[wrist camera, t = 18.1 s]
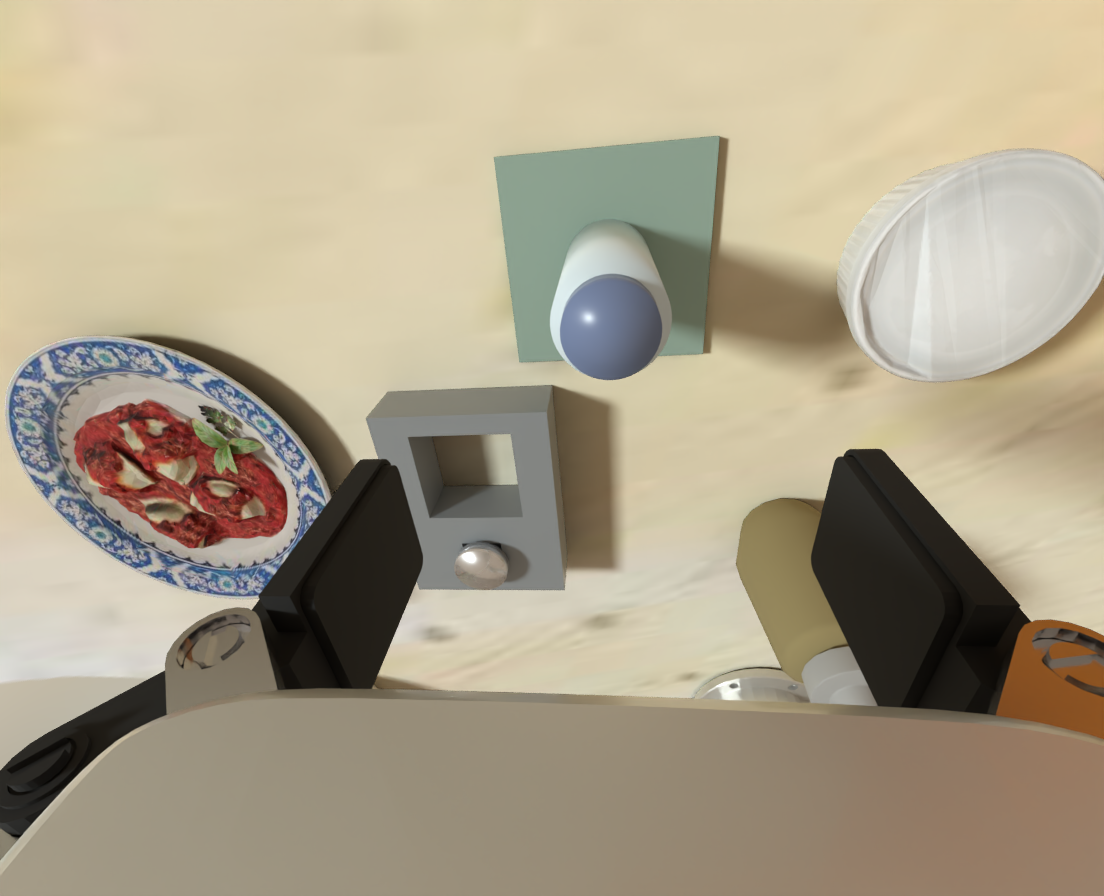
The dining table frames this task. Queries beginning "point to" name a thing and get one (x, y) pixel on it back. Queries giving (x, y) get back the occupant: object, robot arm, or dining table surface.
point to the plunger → (482, 565)
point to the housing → (479, 511)
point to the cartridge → (610, 303)
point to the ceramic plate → (163, 462)
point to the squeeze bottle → (797, 602)
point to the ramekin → (973, 263)
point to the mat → (609, 193)
